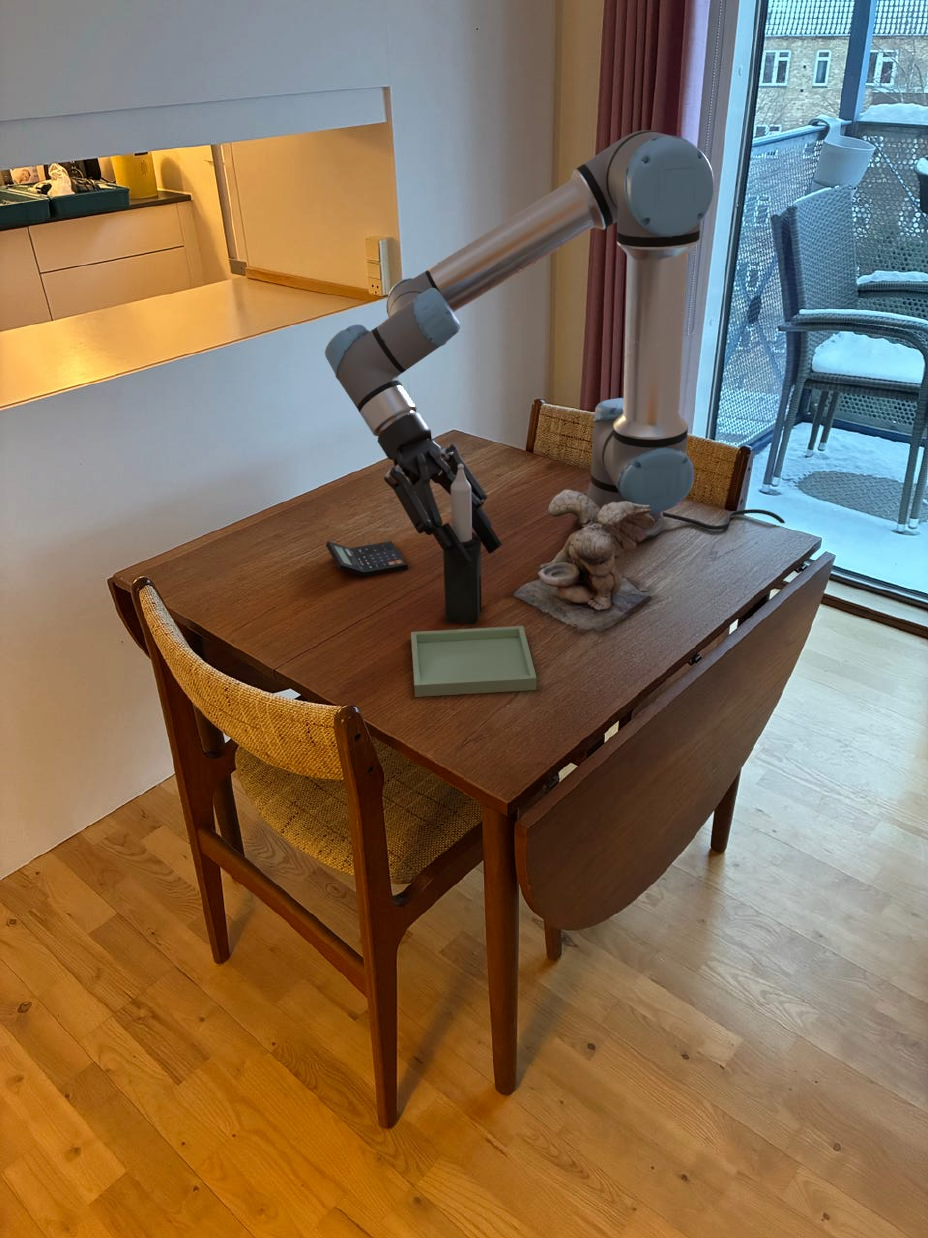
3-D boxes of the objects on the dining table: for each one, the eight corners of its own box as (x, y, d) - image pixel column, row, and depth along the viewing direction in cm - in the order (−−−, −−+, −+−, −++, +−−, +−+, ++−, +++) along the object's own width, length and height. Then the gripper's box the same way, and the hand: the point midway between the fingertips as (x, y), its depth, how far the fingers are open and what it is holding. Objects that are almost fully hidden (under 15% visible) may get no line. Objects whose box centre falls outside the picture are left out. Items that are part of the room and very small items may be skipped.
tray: (523, 637, 143) (523, 625, 142) (536, 690, 131) (536, 678, 130) (411, 643, 142) (410, 631, 141) (414, 697, 130) (414, 685, 129)
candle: (476, 625, 146) (474, 472, 133) (443, 622, 147) (438, 469, 134) (482, 608, 150) (481, 458, 137) (450, 605, 151) (446, 455, 138)
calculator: (407, 568, 162) (406, 552, 160) (340, 581, 158) (338, 565, 157) (391, 545, 169) (390, 530, 168) (327, 556, 166) (325, 541, 164)
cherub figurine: (504, 597, 153) (505, 494, 144) (574, 559, 164) (579, 460, 155) (593, 638, 142) (601, 529, 133) (662, 593, 153) (673, 490, 144)
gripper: (429, 421, 150) (508, 545, 149) (338, 455, 139) (423, 591, 138) (453, 395, 145) (536, 524, 144) (360, 428, 133) (449, 570, 132)
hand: (480, 556), depth 141 cm, fingers closed on candle, 6 cm apart
